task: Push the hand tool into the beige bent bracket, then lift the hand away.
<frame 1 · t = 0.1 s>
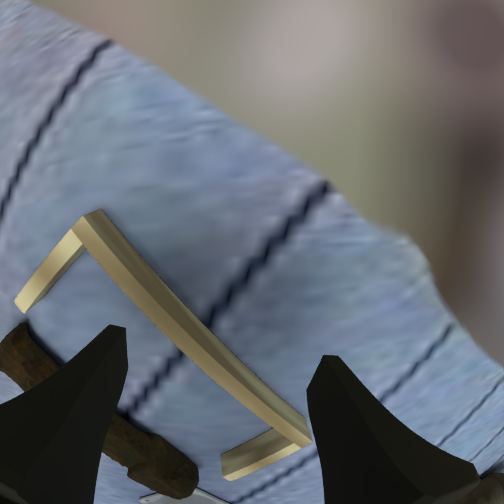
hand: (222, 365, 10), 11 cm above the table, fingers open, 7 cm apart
hand tool: (112, 405, 24), on the table
gourd: (466, 493, 41), on the table
beige bent bracket: (167, 371, 22), on the table
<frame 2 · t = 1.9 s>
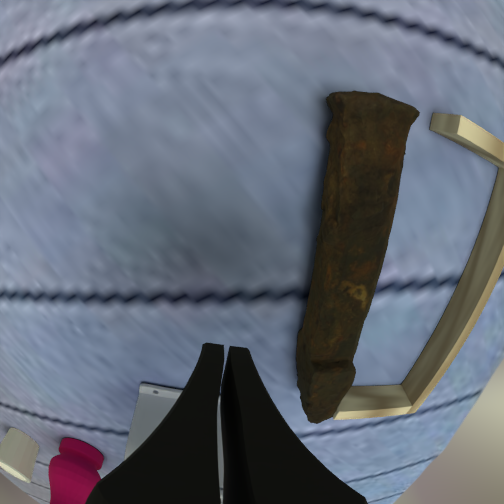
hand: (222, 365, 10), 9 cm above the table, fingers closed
pepper mill: (82, 448, 30), on the table
cream cylinder: (24, 437, 30), on the table
hand tool: (338, 270, 20), on the table
beige bent bracket: (422, 286, 21), on the table
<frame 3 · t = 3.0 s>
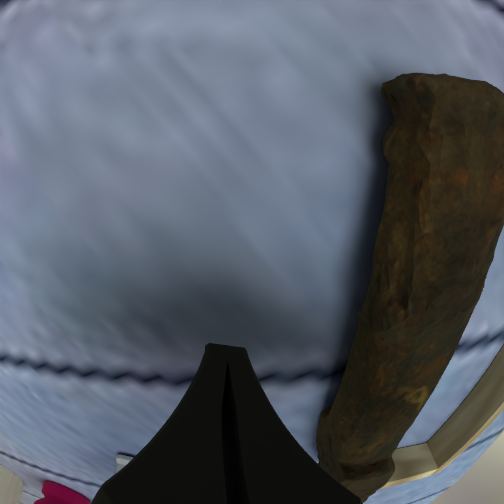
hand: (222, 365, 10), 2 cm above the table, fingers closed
pepper mill: (67, 491, 23), on the table
cream cylinder: (8, 471, 23), on the table
hand tool: (379, 340, 14), on the table
beige bent bracket: (472, 346, 14), on the table
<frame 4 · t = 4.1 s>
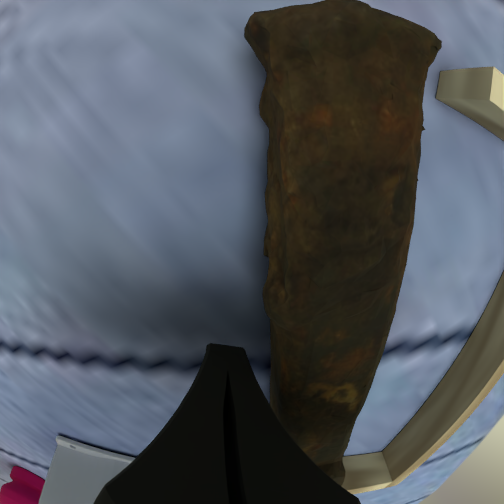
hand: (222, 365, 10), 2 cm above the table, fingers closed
pepper mill: (34, 477, 22), on the table
hand tool: (318, 329, 13), on the table
beige bent bracket: (416, 348, 13), on the table
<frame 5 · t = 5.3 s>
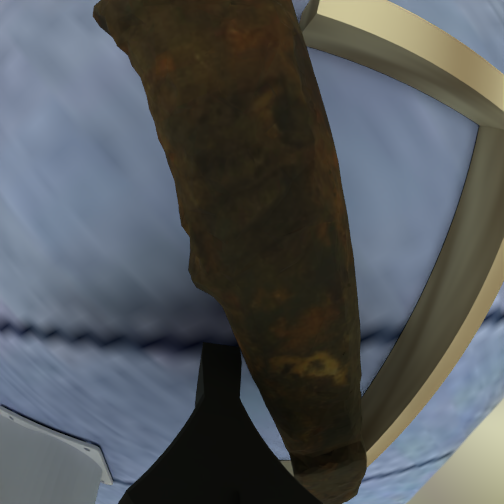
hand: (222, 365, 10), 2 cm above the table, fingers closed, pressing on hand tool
hand tool: (305, 299, 12), on the table, touching gripper, beige bent bracket
beige bent bracket: (317, 345, 13), on the table
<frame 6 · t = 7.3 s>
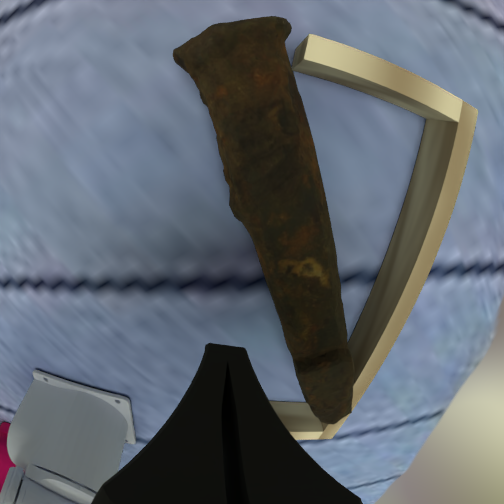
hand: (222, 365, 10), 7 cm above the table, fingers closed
pepper mill: (20, 434, 27), on the table
hand tool: (301, 243, 17), on the table
beige bent bracket: (313, 282, 18), on the table
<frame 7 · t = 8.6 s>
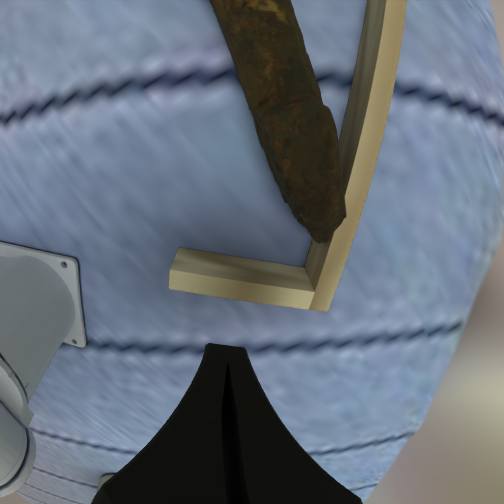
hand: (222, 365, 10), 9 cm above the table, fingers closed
hand tool: (267, 42, 14), on the table
beige bent bracket: (282, 78, 15), on the table
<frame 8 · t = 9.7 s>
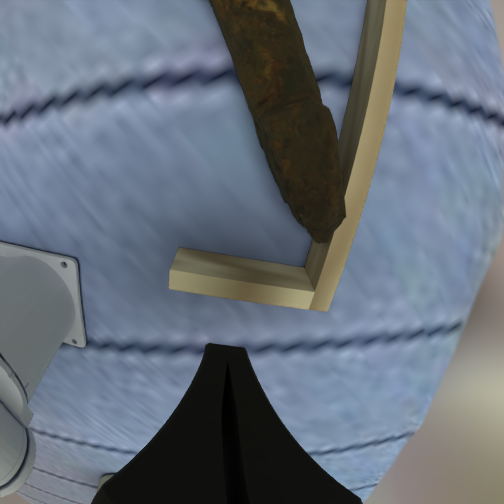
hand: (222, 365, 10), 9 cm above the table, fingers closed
hand tool: (267, 42, 14), on the table
beige bent bracket: (282, 78, 15), on the table
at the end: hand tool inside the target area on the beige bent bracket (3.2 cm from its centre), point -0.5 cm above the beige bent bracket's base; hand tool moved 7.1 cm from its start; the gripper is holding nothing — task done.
